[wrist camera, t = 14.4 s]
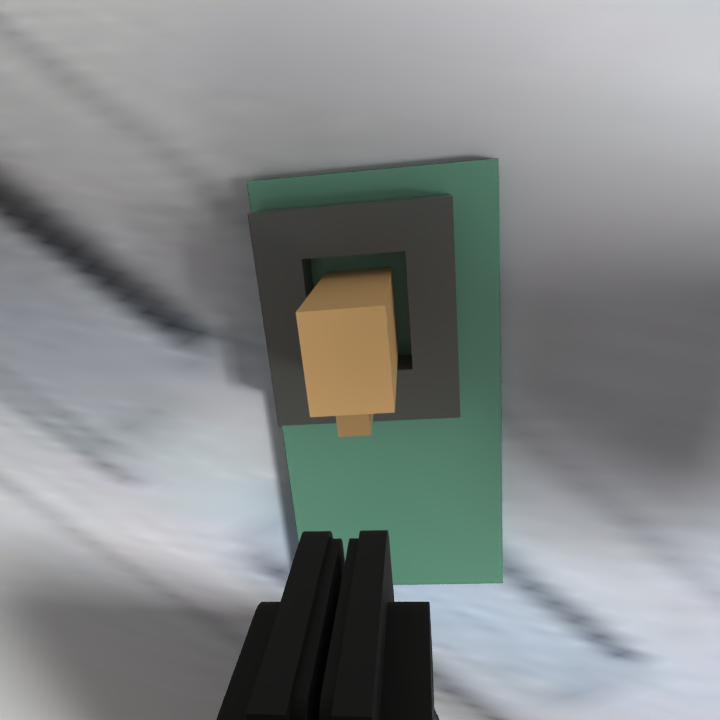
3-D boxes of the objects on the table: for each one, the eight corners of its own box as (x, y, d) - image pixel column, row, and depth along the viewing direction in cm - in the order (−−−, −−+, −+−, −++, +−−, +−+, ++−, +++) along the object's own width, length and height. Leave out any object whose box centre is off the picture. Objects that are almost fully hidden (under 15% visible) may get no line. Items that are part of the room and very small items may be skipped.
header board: (494, 158, 30) (506, 158, 26) (499, 570, 38) (509, 611, 35) (252, 180, 31) (233, 183, 28) (307, 574, 40) (298, 613, 36)
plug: (391, 266, 31) (385, 305, 23) (399, 363, 33) (396, 434, 24) (326, 271, 31) (295, 312, 23) (337, 367, 33) (312, 438, 25)
